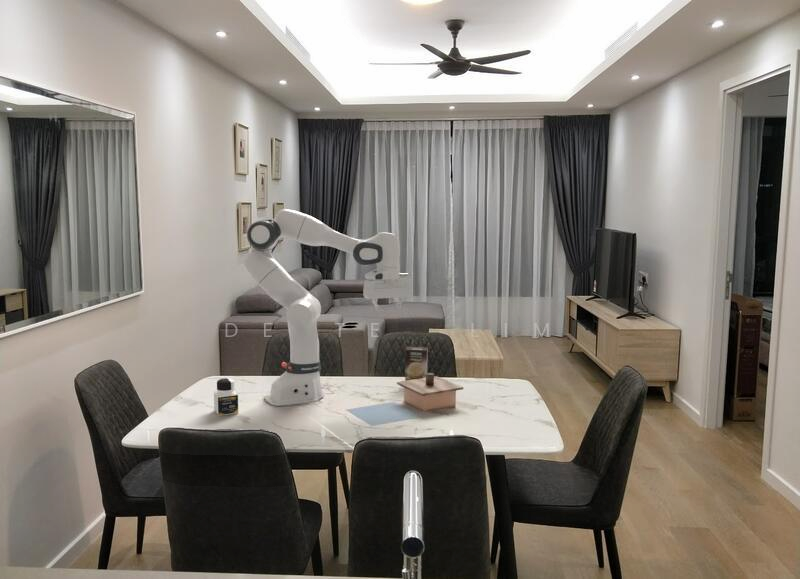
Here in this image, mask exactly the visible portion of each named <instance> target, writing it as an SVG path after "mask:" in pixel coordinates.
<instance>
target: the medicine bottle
mask: <svg viewBox="0 0 800 579" xmlns="http://www.w3.org/2000/svg"><path fill="white" fill-rule="evenodd" d="M238 394H239V393H237V392H236V391H235V380H234V379H233V378H229V377H227V378H226V377H225V378H220V379H219V380H216V391H213V405H214V406H213V410H214V412H215V413H216V415H217V416H219V417H221V416H228V415H235V414H236V415H237V414H239V395H238Z"/></svg>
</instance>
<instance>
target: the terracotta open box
mask: <svg viewBox="0 0 800 579" xmlns="http://www.w3.org/2000/svg"><path fill="white" fill-rule="evenodd" d="M456 398H457V390H456V391H450V392H444V393H438V394H432V395H426V396H421V395H419V394H417V393H415V392H413V391H411V390H409V389H406V388H404V387H403V401H404V402H405V403H407V404H409V405H410V406H411V405H412V406H413V407H415V408H417V409H419V410H421V411H423V412H427V411H433V410H438V409H443V408H448V409H452V408H455V407H456V402H457V399H456Z"/></svg>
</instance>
